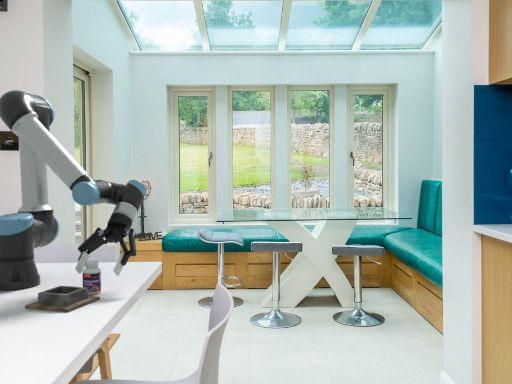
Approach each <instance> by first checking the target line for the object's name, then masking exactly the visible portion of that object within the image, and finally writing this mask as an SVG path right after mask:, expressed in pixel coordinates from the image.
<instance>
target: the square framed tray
mask: <svg viewBox="0 0 512 384" xmlns="http://www.w3.org/2000/svg"><path fill="white" fill-rule="evenodd" d="M100 298H101V297H100V296H97V295H88V288H85V287H83V286H82V287H81V286H68V285H59V286H56V287H52V288H49V289H46V290H43V291H41V292H38V293H37V301H34V302H31V303H28V304H25V309H30V310H41V311H42V310H43V311H52V312H61V311H62V312H63V313H70V312H73V311H74V310H78V309H80V308H82V307H85V306H88V305H90V304H92V303H95V302H97V301H100V300H101V299H100Z"/></svg>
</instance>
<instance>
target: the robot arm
mask: <svg viewBox="0 0 512 384" xmlns="http://www.w3.org/2000/svg"><path fill="white" fill-rule="evenodd" d="M0 119H1V121H2V122H3V123H4V124H5V126H6V127H7V128H8V129H9V130H10V131H11V132H12V133H13V134H15V135H16V136H17V137H18V146H19V149H18V150H19V166H20V167H19V169H20V187H21V192H20V193H21V207H19V208H18V209H17V212H13V213H7V214H2V215H0V291H10V290H11V291H12V290H21V289H28V288H32V287H36V286H39V285H40V284H41V275H40V273H39V271H38V267H37V266H36V262H35V249H38V248H43V247H45V246H47V245H48V246H49V244H52V243H53V242H54V241H55V240H56V239H57V237H58V236H59V233H60V223H59V220H58V219H57V218H56V217H55V215H54V208H53V207H52V206H51V205H50V204H49V191H48V190H49V188H48V170H47V169H48V167H49V168H50V170H51V171H53V173H54V174H55V175H56V176H57V177H58V178H59V179H60V180H61V181H62V182H63V183H64V185H66V187H67V188H68V189H69V190H70V191H71V196H72V199H73V201H74V202H75V203H77V204H78V205H80V206H94V205H98V204H99V205H100V204H109V205H114V206H115V207H114V209H113V210H112V213H111V215H110V217H109V219H108V221H107V225H106V227H105V229H103V228H102V229H101V227H96V229H95V231H94V232H93V233H92V234H91V235H90V236H89V237H88V238H86V240H85V241H83V242H82V243H81V244H80V245H79V246H78V247H77V250H78V252H79V253H80V255H79V256H78V259H77V261H78V262H77V263H76V265H75V267H74V270H76V272H78V274H83V270H84V269H85V268H86V267H85V262H86V261H89V259H90V256H91V255H90V254H92V253H93V252H95V251H96V250H97V249H99V248H100V247H102V246H104V245H107V244H108V243H109V244H110V243H111V244H112V243H115V244H118V243H119V244H120V246H121V248H122V251H123V252H121V253H120V255H119V257H118V260H117V262H116V264H115V266H114V268H113V270H112V271H113V272H114V274H115V275H116V276H117V277H119V276H120V274H121V272H122V270H123V267H124V266H126V265H127V263H128V260H129V259H130V258H131V257H136V256H137V247H136V236H137V233H136V231H135V230H134V228H132V227H133V223H134V221H135V218H136V217H137V215H138V212H139V210H140V208H141V206H142V204H143V201H144V200H145V197H146V194H147V190H148V188H147V186H146V184H145V183H144V182H142V180H138V179H135V178H134V179H129V181H127V183H126V184H123V183H116V182H113V181H112V182H111V181H107V180H103V179H95V178H94V179H93V178H92V177H91V176H90V175H89V173H88V172H87V170H85V169H84V167H82V166H81V165H80V164H79V163H78V161H77V160H76V159H75V158H74V157H73V156H72V155H71V154H70V152H68V151H67V149H66V148H65V147H64V146H63V145H62V144H61V143H60V142H59V140H58V139H56V137H55V136H54V135H53V134H51V131H50V130H51V129H50V126H51V125H52V124H53V123H54V120H55V109H54V107H53V105H52V104H51V102H49V101H48V100H47V99H46V98H44V97H42V96H39V95H36V94H33V93H28V92H25V91H23V90H19V89H17V90H15V89H14V90H13V89H12V90H9V91H6V92H5V93H3V95H1V97H0ZM47 166H48V167H47ZM126 237H128V244H129V245H128V246H129V249H128V247H127V244H126V242H125V240H124V239H125V238H126Z"/></svg>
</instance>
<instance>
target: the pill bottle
mask: <svg viewBox="0 0 512 384" xmlns="http://www.w3.org/2000/svg"><path fill="white" fill-rule="evenodd" d="M82 287H85V288H88V296H96V295H99V294H101V293H102V270H101V268H99V260H88V261H86V262H85V267H84V269H83V271H82Z"/></svg>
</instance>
